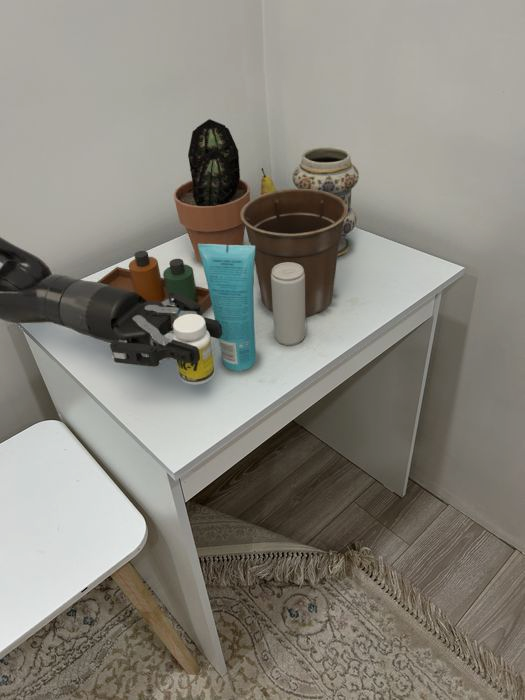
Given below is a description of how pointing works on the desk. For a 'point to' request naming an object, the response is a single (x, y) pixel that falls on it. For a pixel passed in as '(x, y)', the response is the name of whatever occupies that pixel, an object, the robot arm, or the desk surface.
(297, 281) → the beverage can
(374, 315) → the desk surface
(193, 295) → the green bottle
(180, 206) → the potted plant
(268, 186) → the fruit
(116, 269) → the serving tray
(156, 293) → the amber bottle
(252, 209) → the plant pot
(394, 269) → the desk surface
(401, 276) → the desk surface
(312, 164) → the apothecary jar
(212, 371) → the supplement bottle
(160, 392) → the desk surface
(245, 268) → the tube
